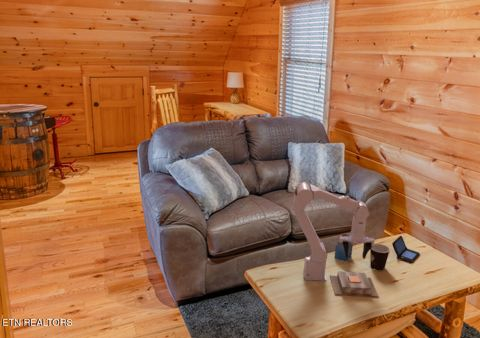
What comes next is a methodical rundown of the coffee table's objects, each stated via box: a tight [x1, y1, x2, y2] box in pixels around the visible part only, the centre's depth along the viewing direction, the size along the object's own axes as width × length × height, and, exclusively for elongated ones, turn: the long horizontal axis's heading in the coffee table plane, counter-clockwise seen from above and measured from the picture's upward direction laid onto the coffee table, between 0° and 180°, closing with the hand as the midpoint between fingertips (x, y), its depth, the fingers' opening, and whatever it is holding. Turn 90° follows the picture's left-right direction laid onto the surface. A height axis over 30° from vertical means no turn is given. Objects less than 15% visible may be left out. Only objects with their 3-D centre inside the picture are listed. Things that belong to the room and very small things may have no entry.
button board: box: [329, 271, 380, 298], centre depth 176 cm, size 18×14×4 cm
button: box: [348, 276, 360, 283], centre depth 176 cm, size 4×4×3 cm
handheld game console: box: [391, 235, 421, 264], centre depth 203 cm, size 12×11×7 cm
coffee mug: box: [369, 243, 391, 272], centre depth 193 cm, size 12×9×10 cm
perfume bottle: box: [334, 233, 353, 263], centre depth 199 cm, size 6×6×12 cm
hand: (354, 257), depth 180 cm, fingers open, 7 cm apart
